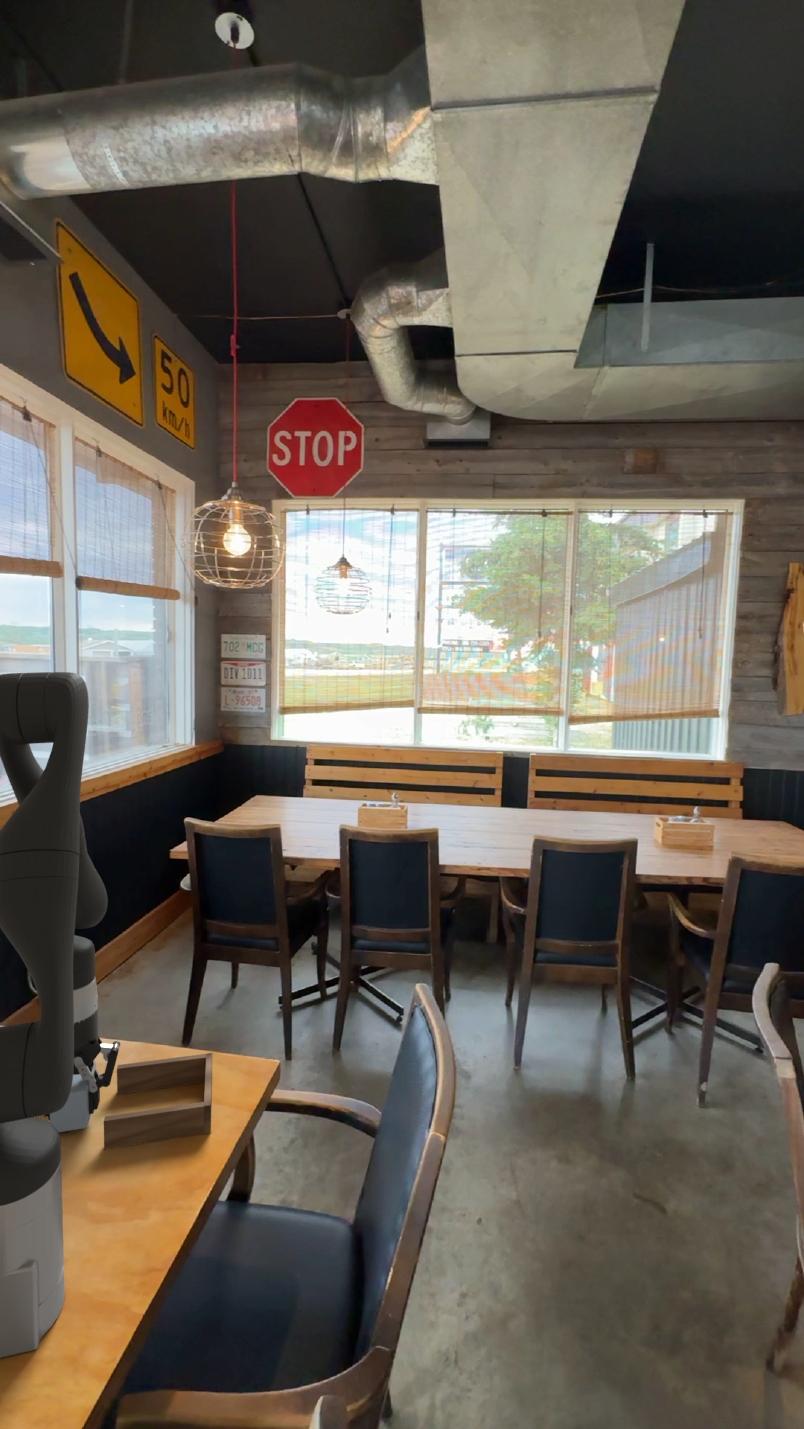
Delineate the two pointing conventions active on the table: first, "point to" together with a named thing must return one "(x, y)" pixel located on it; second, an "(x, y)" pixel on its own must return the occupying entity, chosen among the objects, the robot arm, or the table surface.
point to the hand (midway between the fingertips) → (72, 1112)
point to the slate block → (73, 1108)
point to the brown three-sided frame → (161, 1120)
